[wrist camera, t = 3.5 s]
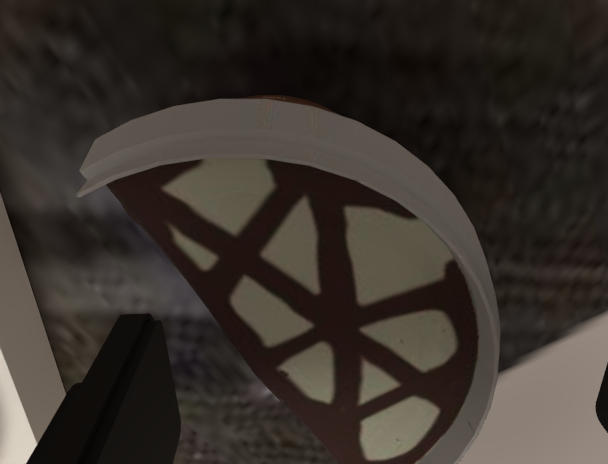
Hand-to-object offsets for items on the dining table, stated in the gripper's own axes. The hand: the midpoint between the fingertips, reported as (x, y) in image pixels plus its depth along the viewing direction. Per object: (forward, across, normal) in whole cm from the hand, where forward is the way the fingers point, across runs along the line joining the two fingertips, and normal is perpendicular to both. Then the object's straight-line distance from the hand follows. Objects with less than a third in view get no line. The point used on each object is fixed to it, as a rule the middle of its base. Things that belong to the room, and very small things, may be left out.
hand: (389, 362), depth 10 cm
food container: (+11, 0, 0) cm, 11 cm away
